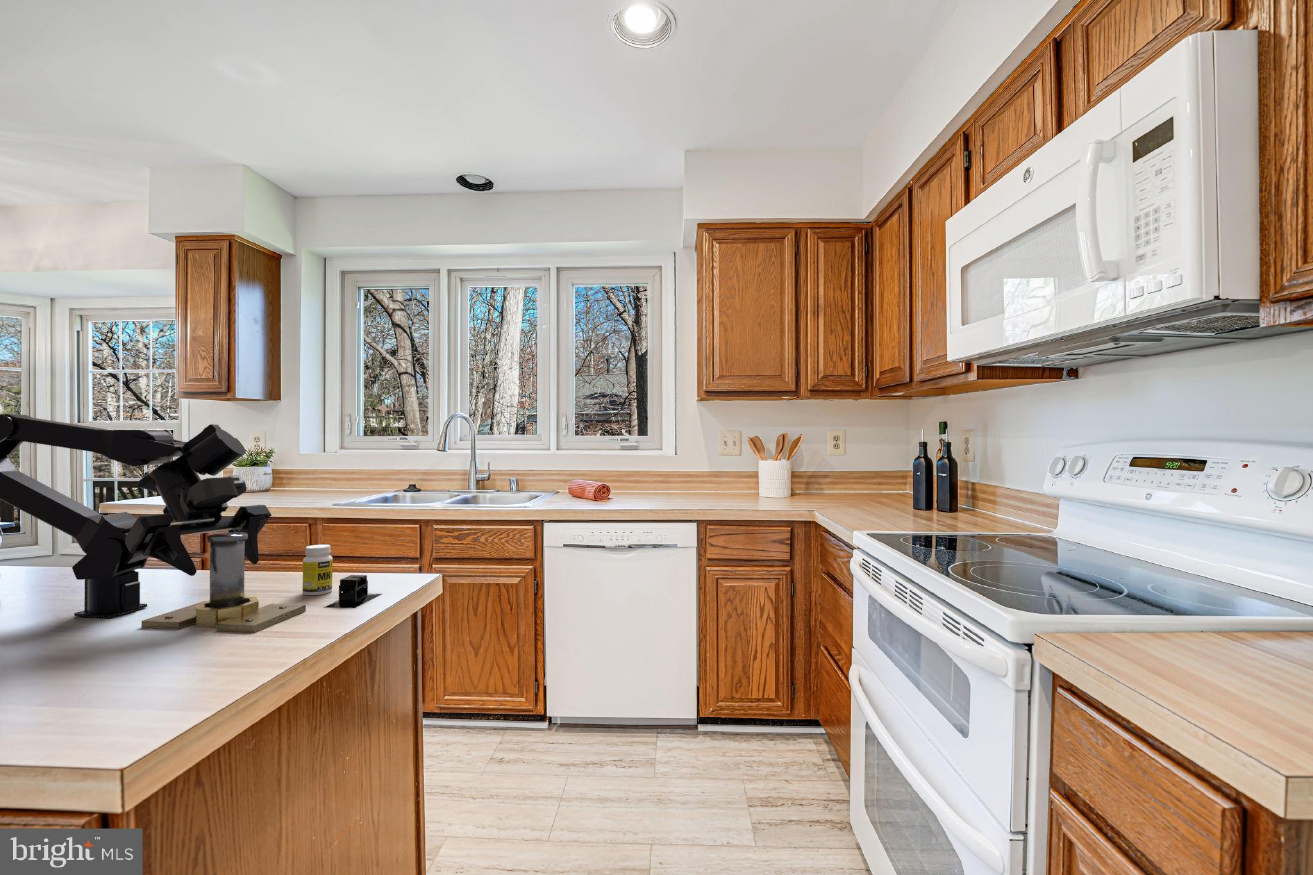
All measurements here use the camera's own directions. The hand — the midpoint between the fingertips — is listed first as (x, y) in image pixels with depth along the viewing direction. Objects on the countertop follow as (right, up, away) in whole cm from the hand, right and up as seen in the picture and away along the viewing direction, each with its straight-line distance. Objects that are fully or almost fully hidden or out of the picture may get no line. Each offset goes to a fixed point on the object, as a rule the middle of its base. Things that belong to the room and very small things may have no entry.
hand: (226, 568), depth 95 cm
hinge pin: (0, -8, 0) cm, 8 cm away
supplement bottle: (+5, -8, +17) cm, 19 cm away
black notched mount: (+14, -9, +11) cm, 20 cm away
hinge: (0, -8, 0) cm, 8 cm away
